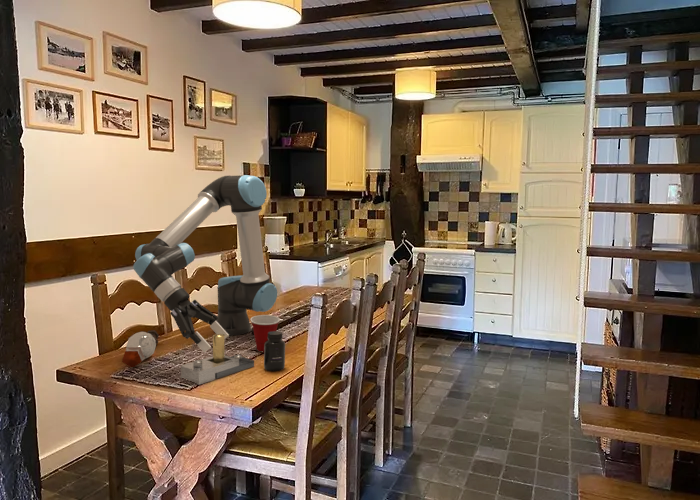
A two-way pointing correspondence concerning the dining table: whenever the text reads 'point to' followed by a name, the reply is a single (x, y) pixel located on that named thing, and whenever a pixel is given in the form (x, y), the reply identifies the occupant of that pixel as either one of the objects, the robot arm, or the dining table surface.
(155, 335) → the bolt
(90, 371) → the dining table surface
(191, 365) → the grey socket block
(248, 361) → the lower chain end
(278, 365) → the supplement bottle
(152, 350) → the potion bottle
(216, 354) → the brass pin
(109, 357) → the dining table surface
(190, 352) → the dining table surface
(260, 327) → the plastic cup
